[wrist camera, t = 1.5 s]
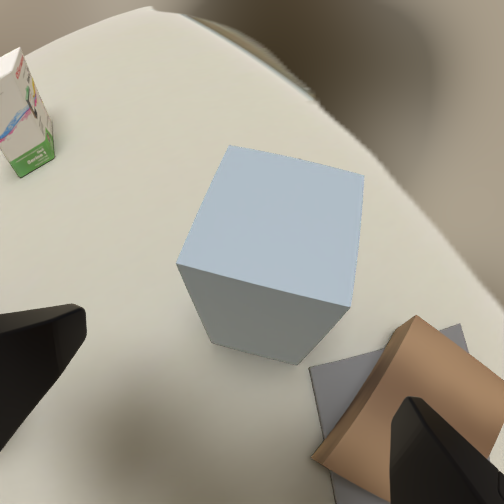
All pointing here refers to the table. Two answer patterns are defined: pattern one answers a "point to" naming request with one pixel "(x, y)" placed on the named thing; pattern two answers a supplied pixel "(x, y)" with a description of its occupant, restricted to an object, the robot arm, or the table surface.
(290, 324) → the pillar block
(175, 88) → the table surface
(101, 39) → the table surface
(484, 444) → the base block
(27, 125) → the ink box
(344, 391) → the build mat
